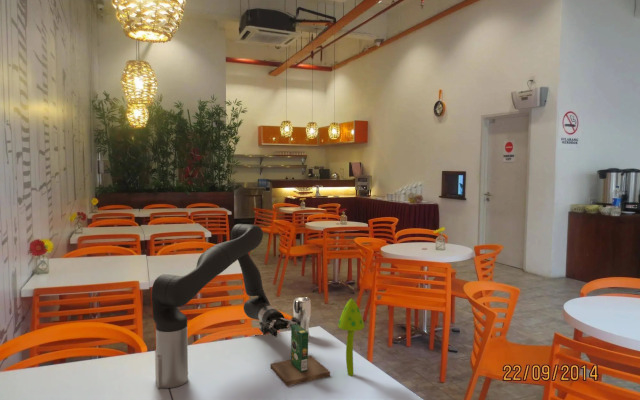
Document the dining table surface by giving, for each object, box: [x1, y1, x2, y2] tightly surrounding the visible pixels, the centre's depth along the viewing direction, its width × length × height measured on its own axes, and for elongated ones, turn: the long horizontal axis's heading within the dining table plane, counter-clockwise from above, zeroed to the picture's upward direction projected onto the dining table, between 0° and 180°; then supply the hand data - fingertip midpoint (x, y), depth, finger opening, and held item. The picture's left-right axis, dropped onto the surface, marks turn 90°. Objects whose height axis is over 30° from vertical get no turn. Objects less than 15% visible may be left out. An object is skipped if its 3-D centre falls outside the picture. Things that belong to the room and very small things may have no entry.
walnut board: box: [269, 355, 331, 387], centre depth 142 cm, size 15×14×2 cm
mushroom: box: [337, 298, 365, 377], centre depth 140 cm, size 8×8×25 cm
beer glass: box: [292, 296, 312, 338], centre depth 173 cm, size 7×7×15 cm
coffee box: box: [290, 324, 309, 372], centre depth 142 cm, size 8×3×13 cm, turn 27°
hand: (287, 332), depth 150 cm, fingers open, 8 cm apart
